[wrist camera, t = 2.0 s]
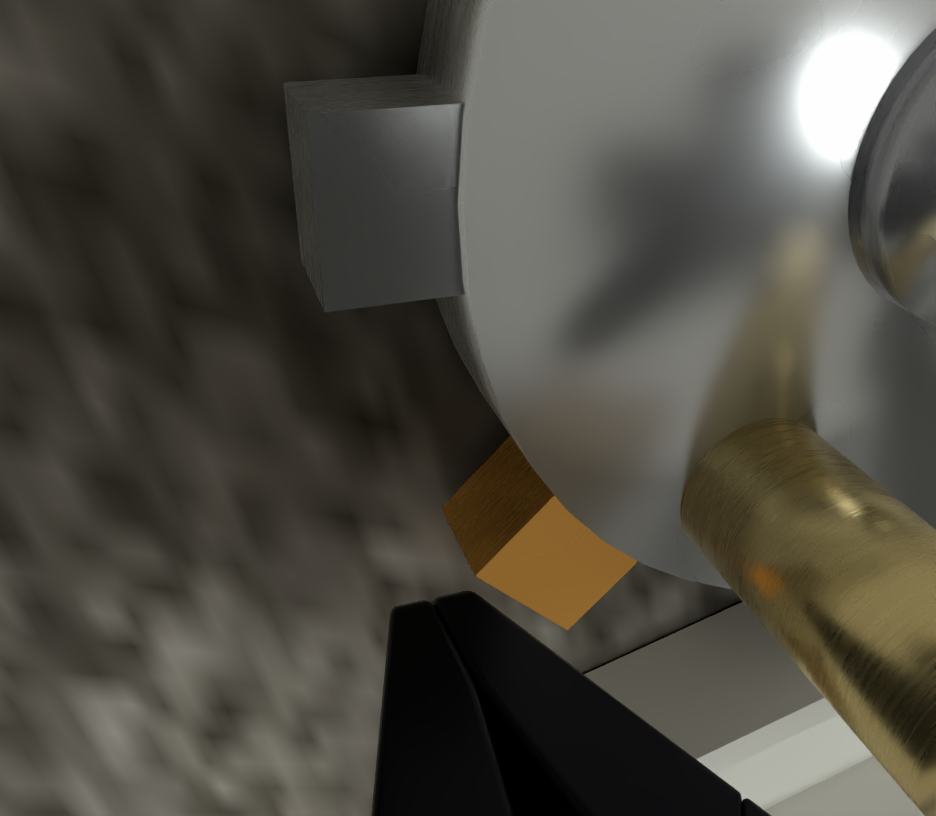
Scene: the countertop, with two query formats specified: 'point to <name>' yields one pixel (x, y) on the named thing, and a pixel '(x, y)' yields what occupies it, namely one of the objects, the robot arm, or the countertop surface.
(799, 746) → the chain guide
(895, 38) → the sprocket
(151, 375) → the countertop surface
